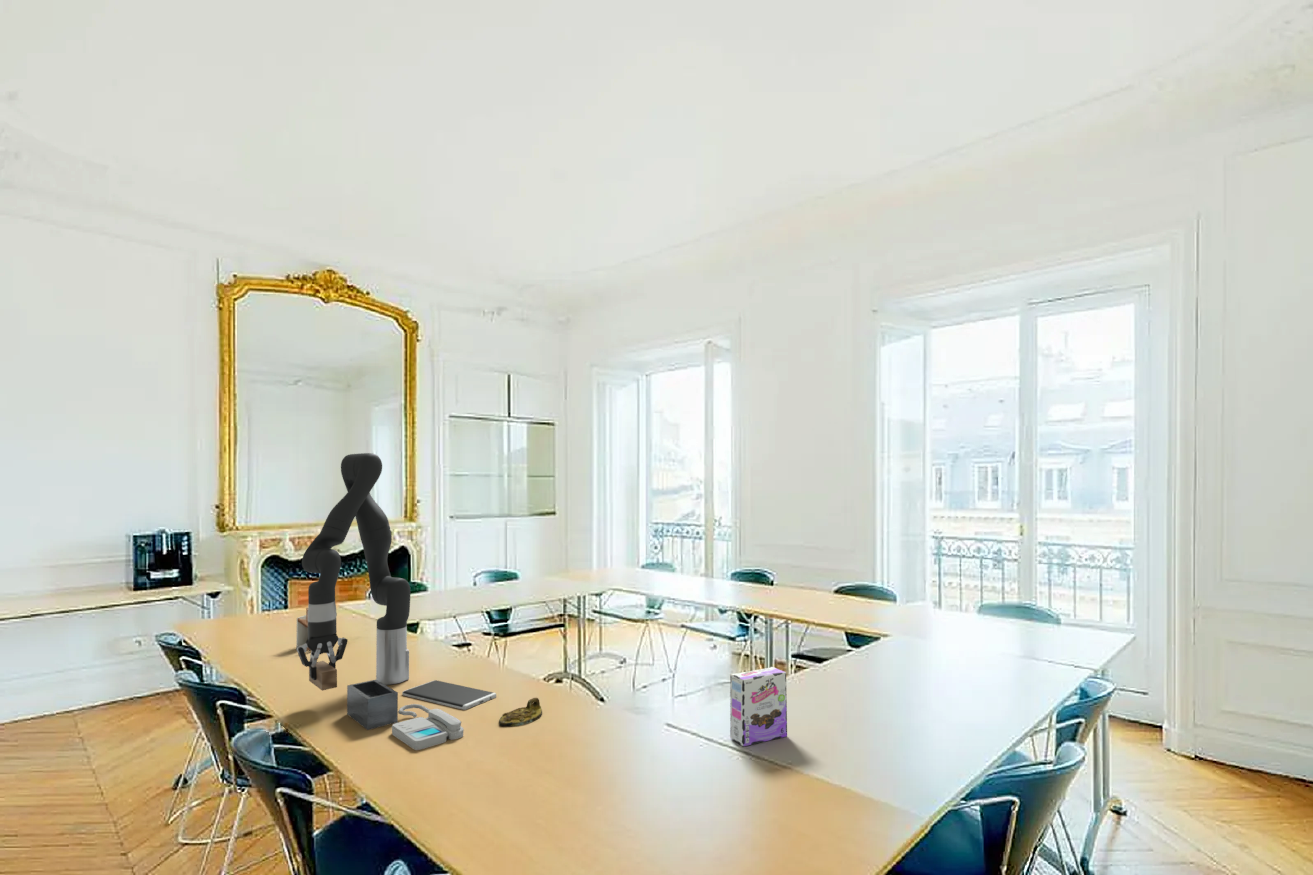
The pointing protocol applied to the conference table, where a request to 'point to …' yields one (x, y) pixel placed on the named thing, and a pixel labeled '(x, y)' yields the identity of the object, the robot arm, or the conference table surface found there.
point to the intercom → (426, 728)
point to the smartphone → (449, 694)
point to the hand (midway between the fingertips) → (322, 677)
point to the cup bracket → (372, 704)
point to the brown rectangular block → (324, 676)
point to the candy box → (758, 706)
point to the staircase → (302, 630)
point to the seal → (522, 714)
